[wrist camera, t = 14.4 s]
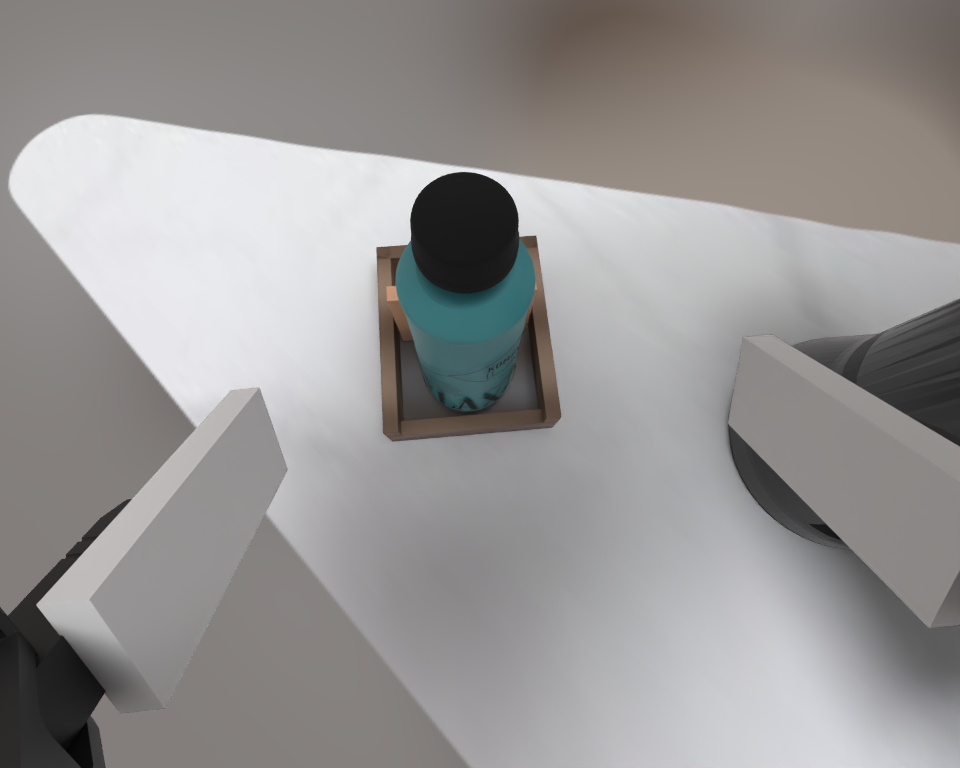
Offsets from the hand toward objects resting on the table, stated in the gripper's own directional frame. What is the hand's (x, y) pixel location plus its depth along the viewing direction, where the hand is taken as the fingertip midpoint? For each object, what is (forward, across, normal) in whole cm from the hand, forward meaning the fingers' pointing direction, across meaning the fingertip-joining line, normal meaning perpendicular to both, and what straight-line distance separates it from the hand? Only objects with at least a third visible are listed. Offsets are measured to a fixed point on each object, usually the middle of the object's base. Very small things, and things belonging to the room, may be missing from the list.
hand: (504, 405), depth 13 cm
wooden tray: (+23, -1, -8) cm, 24 cm away
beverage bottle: (+21, -1, -9) cm, 23 cm away
